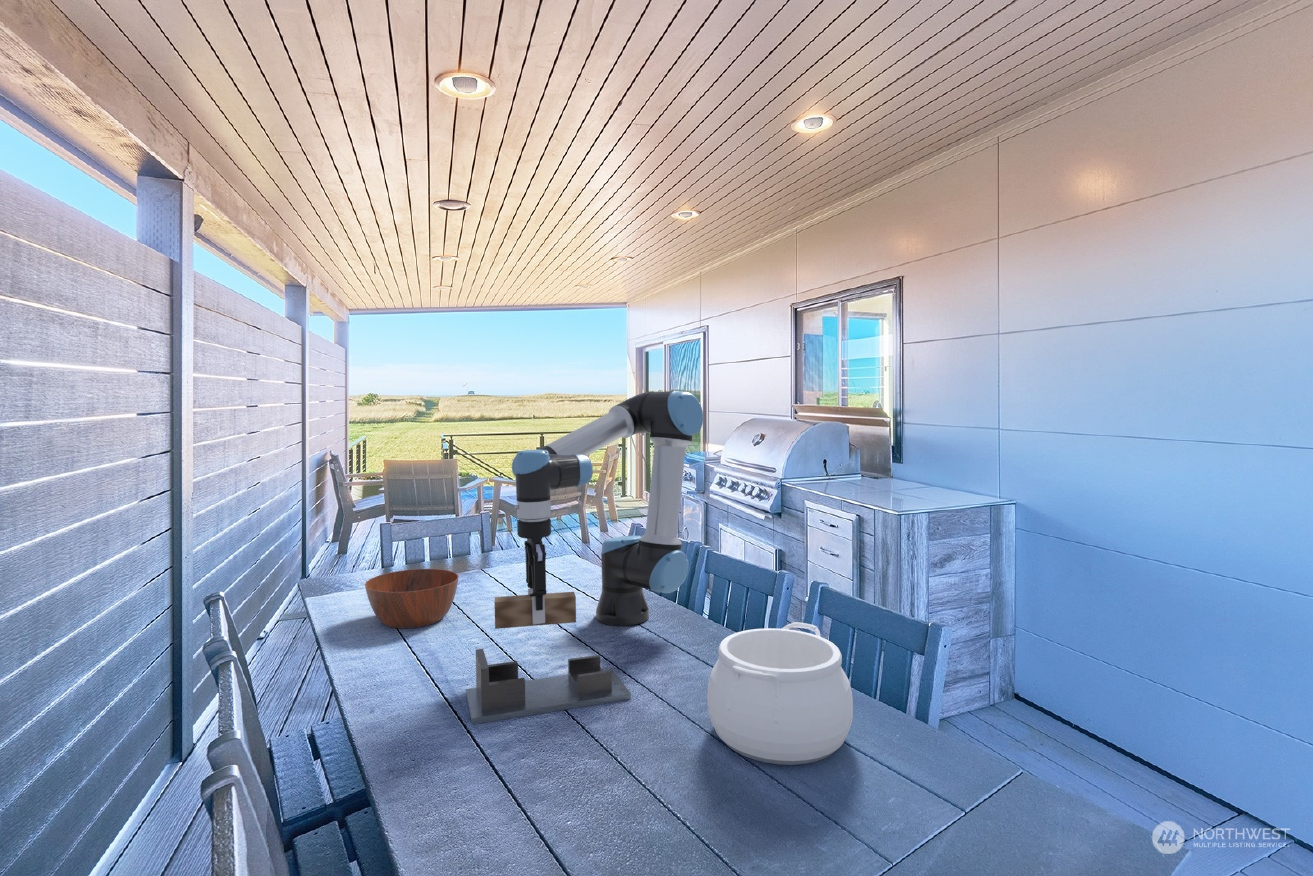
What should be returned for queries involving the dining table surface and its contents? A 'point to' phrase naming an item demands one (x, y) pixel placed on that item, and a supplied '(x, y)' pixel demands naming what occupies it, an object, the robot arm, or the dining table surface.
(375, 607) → the bowl
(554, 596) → the rail
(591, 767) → the dining table surface
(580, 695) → the block fixture
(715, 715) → the pot
